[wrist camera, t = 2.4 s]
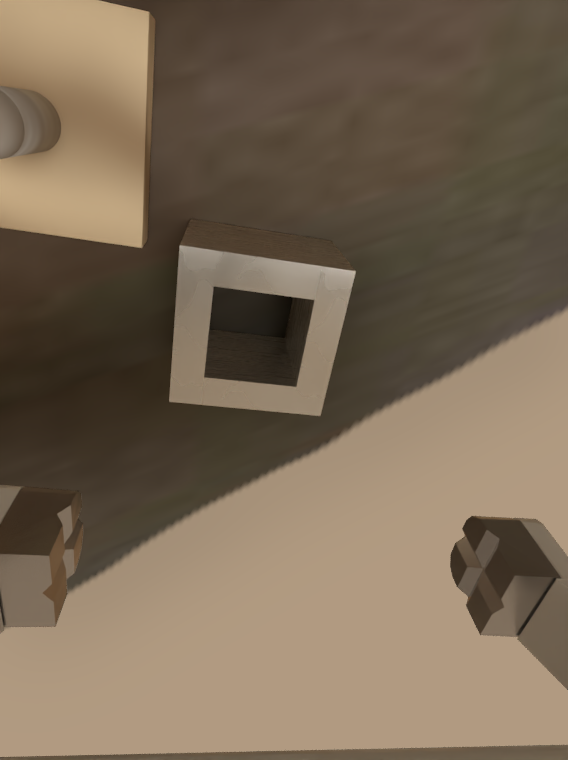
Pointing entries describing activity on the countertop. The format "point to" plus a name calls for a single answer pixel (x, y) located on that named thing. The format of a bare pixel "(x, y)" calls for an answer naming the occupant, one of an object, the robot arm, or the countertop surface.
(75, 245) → the countertop surface
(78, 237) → the base plate
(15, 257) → the countertop surface
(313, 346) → the white hollow square block
